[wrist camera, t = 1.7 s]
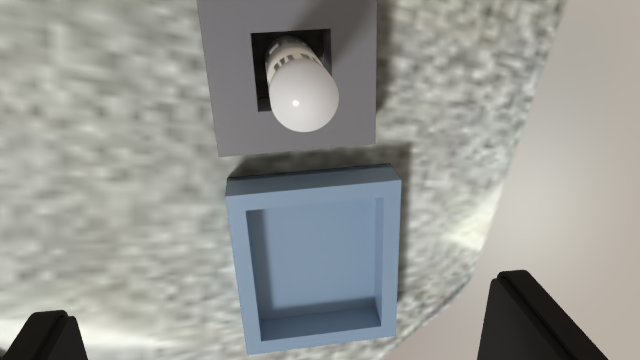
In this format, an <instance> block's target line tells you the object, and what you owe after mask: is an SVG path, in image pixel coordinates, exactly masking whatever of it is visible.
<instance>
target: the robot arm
mask: <svg viewBox="0 0 640 360" xmlns="http://www.w3.org/2000/svg"><path fill="white" fill-rule="evenodd" d="M2 360H88V358H87V355H86V351H85V348H84V344H83V341H82V337H81V334H80V330H79V326H78V323H77V320H76V318H75V317H74V316H68V314H67V313H66V312H65V311H64V310H56V311H45V312H35V313H33V314H32V315H31V316H30V317H29V318H28V320H27V321H26V323H25V324H24V326H23V328H22V329H21V331H20V332H19V334H18V335H17V337H16V338H15V340H14V341H13V343H12V345H11V346H10V348H9V349H8V351H7V352H6V354H5V355H4V357H3V358H2ZM477 360H608V359H607V357H605V355H604V354H603V353H602V352H601V351H600V350H599V349H598V348H597V347H596V345H595V344H594V343H593V342H592V341H591V340H590V339H589V338H588V337H587V336H586V334H585V333H584V332H583V331H582V330H581V329H580V328H579V327H578V326H577V325H576V324H575V322H574V321H573V320H572V319H571V318H570V317H569V316H568V315H567V314H566V313H565V312H564V310H563V309H562V308H561V307H560V306H559V305H558V304H557V303H556V302H555V301H554V299H553V298H552V297H551V296H550V295H549V294H548V293H547V292H546V291H545V290H544V289H543V288H542V286H541V285H540V284H539V283H538V282H537V281H536V280H535V279H534V278H533V277H532V276H531V274H530V273H529V272H527V271H526V270H514V271H503V272H500V273H499V274H498V276H497V278H495V279H493V280H492V281H491V284H490V289H489V295H488V301H487V307H486V312H485V318H484V323H483V329H482V335H481V340H480V346H479V351H478V357H477Z"/></svg>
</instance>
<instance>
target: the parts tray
mask: <svg viewBox="0 0 640 360" xmlns="http://www.w3.org/2000/svg"><path fill="white" fill-rule="evenodd" d="M225 199H226V206H227V214H228V221H229V228H230V235H231V242H232V249H233V256H234V264H235V271H236V278H237V285H238V292H239V299H240V307H241V314H242V321H243V328H244V335H245V342H246V349H247V355H252V354H260V353H268V352H275V351H283V350H291V349H298V348H306V347H314V346H322V345H329V344H337V343H345V342H352V341H360V340H368V339H375V338H383V337H391V336H396V311H397V285H398V258H399V232H400V206H401V179H400V177H399V176H398V174H397V173H396V172H395V170H394V169H393V167H392V166H391V165H390V164H379V165H368V166H357V167H345V168H334V169H323V170H312V171H301V172H290V173H278V174H267V175H256V176H245V177H234V178H227V185H226V193H225Z"/></svg>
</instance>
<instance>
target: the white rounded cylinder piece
mask: <svg viewBox="0 0 640 360" xmlns="http://www.w3.org/2000/svg"><path fill="white" fill-rule="evenodd" d="M265 68H266V75H267V82H268V89H269V96H270V103H271V108H272V111H273V113H274V115H275V117H276V118H277V120H278V121H279V122H280V123H281V124H282V125H284V126H285V127H287V128H289V129H291V130H293V131H297V132H310V131H314V130H317V129H319V128H321V127H323V126H324V125H326V124H327V123H328V122H329V121H330V120H331V119H332V117H333V116H334V114H335V112H336V110H337V107H338V102H339V93H338V88H337V85H336V83H335V81H334V80H333V78H332V77H331V75H330V74H329V73H328V71H327V70H326V69H325V67H324V66H323V65H322V63H321V62H320V61H319V59H318V58H317V57H316V55H315V54H314V52H313V51H312V50H311V48H310V47H309V46H308V44H307V43H306V42H305V41H303V40H302V39H300V38H298V37H295V36H282V37H279V38H277V39H276V40H274V41H273V42H272V43H271V44H270V45H269V47H268V49H267V51H266V54H265Z"/></svg>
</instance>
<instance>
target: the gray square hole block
mask: <svg viewBox="0 0 640 360" xmlns="http://www.w3.org/2000/svg"><path fill="white" fill-rule="evenodd" d="M197 6H198V14H199V21H200V28H201V35H202V42H203V49H204V56H205V63H206V70H207V78H208V85H209V92H210V99H211V106H212V113H213V120H214V127H215V134H216V141H217V149H218V156H219V157H227V156H239V155H251V154H262V153H274V152H286V151H298V150H310V149H321V148H333V147H345V146H357V145H369V144H375V129H376V44H377V0H197ZM313 29H323V54H324V67H325V69H326V70H327V71H328V73H329V74H330V75H331V77H332V78H333V80H334V81H335V83H336V85H337V88H338V93H339V102H338V107H337V110H336V112H335V114H334V116H333V117H332V119H331V120H330V121H329V122H328V123H327V124H326V125H324V126H323V127H321V128H319V129H317V130H314V131H310V132H297V131H293V130H291V129H289V128H287V127H285V126H284V125H282V124H281V123H280V122H279V121H278V120H277V118H276V117H275V115H274V113H273V111H272V108H271V103H270V97H259V98H257V89H256V78H255V68H254V58H253V48H252V37H251V33H261V32H278V31H295V30H313Z"/></svg>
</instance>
